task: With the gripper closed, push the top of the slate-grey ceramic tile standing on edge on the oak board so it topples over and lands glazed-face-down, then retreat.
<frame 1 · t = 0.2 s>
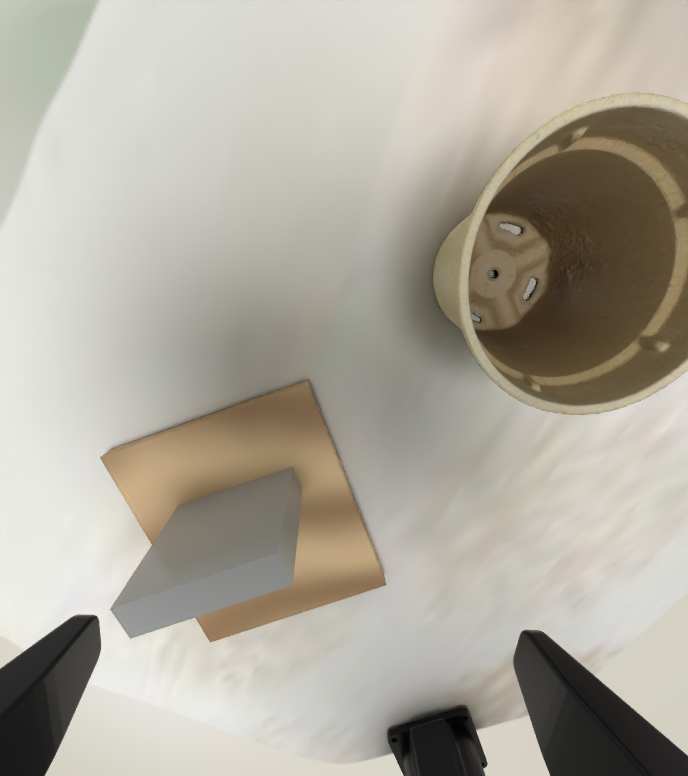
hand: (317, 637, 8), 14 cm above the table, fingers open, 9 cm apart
flower pot: (488, 276, 20), on the table
tile: (240, 498, 21), point 1 cm above the table, touching board
board: (256, 515, 23), on the table
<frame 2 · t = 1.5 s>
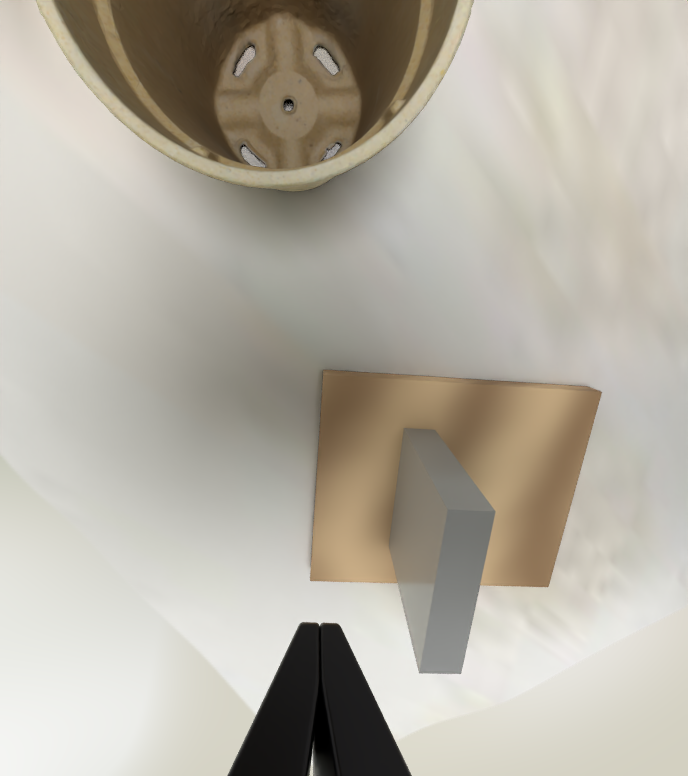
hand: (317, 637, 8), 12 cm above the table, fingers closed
flower pot: (292, 113, 16), on the table
tile: (410, 490, 20), point 1 cm above the table, touching board
board: (441, 482, 21), on the table
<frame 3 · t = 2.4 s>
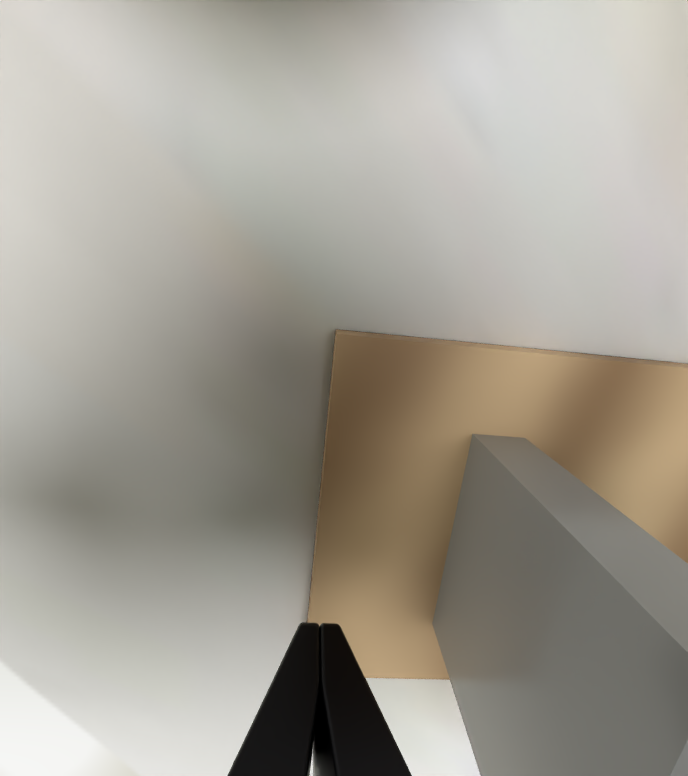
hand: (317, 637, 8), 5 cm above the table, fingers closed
tile: (475, 537, 12), point 1 cm above the table, touching board
board: (519, 521, 13), on the table
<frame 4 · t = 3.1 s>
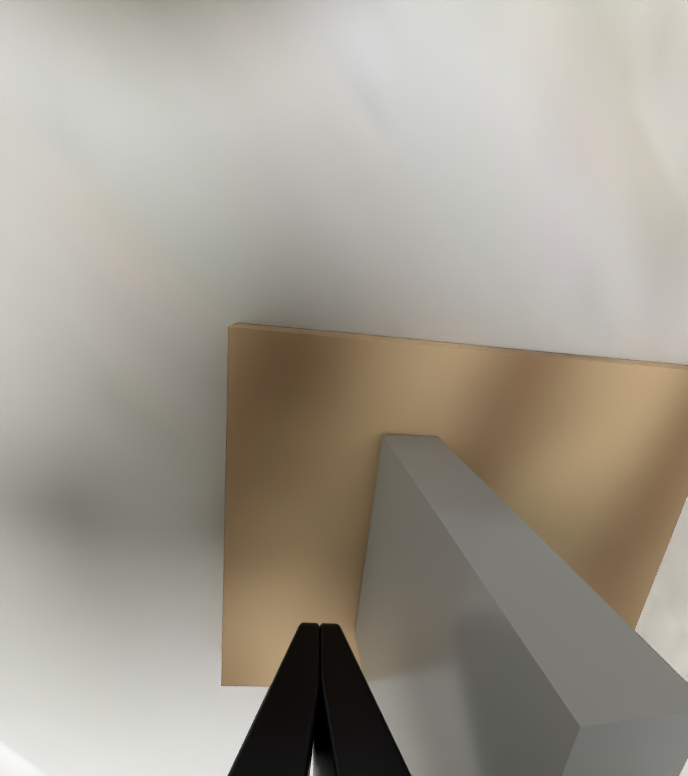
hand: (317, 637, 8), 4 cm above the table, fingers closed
tile: (393, 542, 11), point 1 cm above the table, tilted 6°, touching board
board: (445, 523, 12), on the table
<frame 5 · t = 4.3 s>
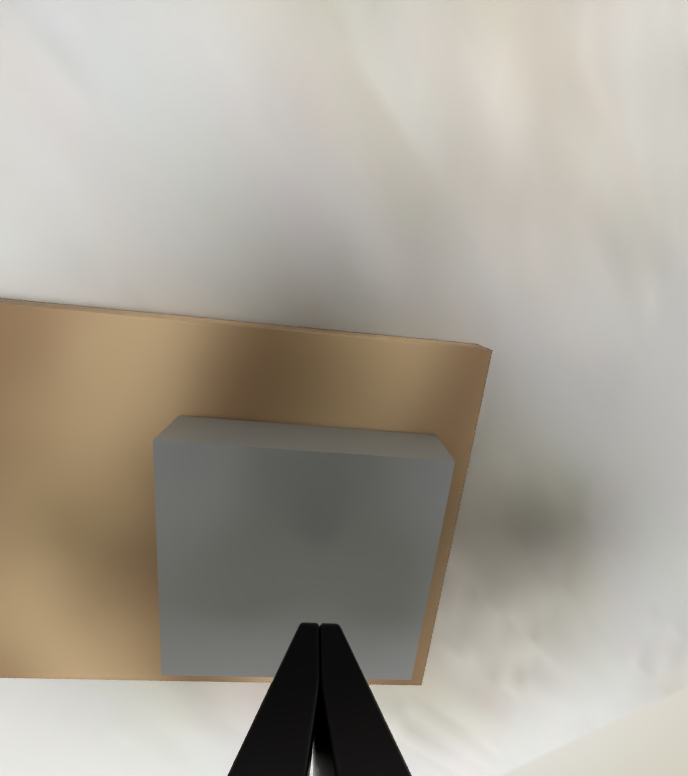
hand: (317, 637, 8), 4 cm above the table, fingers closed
tile: (170, 547, 10), point 2 cm above the table, tilted 90°, touching board
board: (229, 509, 12), on the table
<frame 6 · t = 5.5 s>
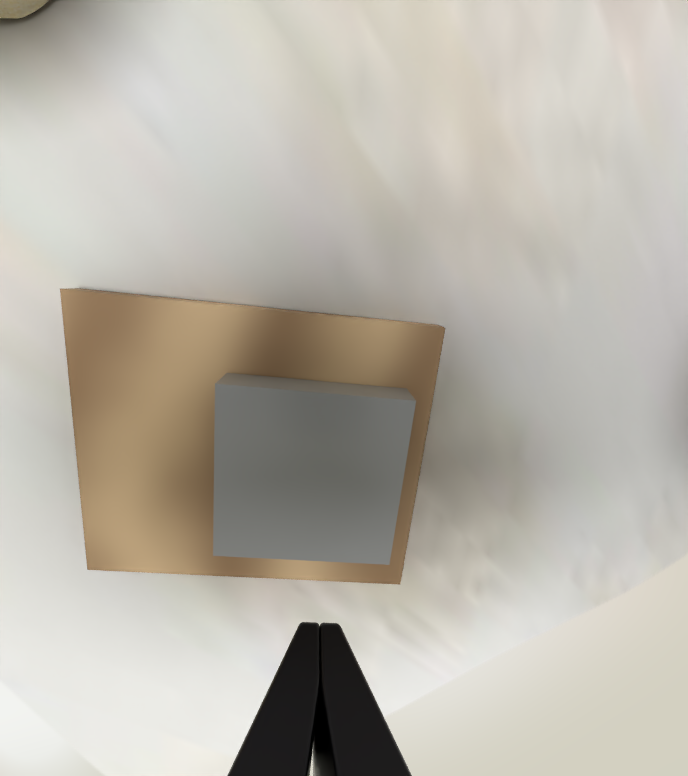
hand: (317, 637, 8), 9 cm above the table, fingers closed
tile: (219, 465, 14), point 2 cm above the table, tilted 90°, touching board
board: (258, 446, 16), on the table
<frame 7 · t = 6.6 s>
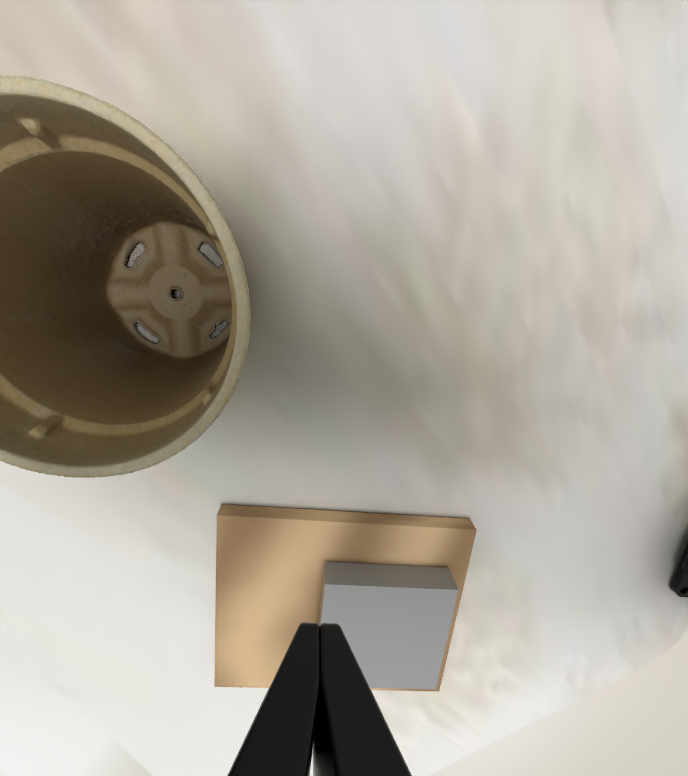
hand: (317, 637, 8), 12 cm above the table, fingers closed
flower pot: (183, 293, 18), on the table
tile: (319, 624, 21), point 2 cm above the table, tilted 90°, touching board
board: (338, 598, 23), on the table
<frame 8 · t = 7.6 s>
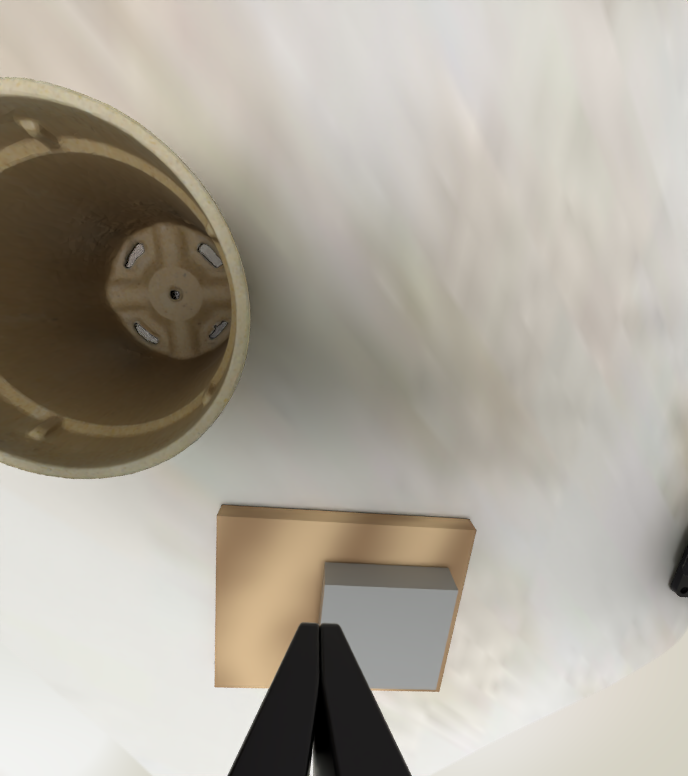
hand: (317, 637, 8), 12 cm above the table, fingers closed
flower pot: (183, 294, 18), on the table
tile: (319, 625, 21), point 2 cm above the table, tilted 90°, touching board
board: (338, 598, 23), on the table
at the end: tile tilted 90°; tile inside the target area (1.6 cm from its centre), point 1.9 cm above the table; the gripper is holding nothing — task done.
